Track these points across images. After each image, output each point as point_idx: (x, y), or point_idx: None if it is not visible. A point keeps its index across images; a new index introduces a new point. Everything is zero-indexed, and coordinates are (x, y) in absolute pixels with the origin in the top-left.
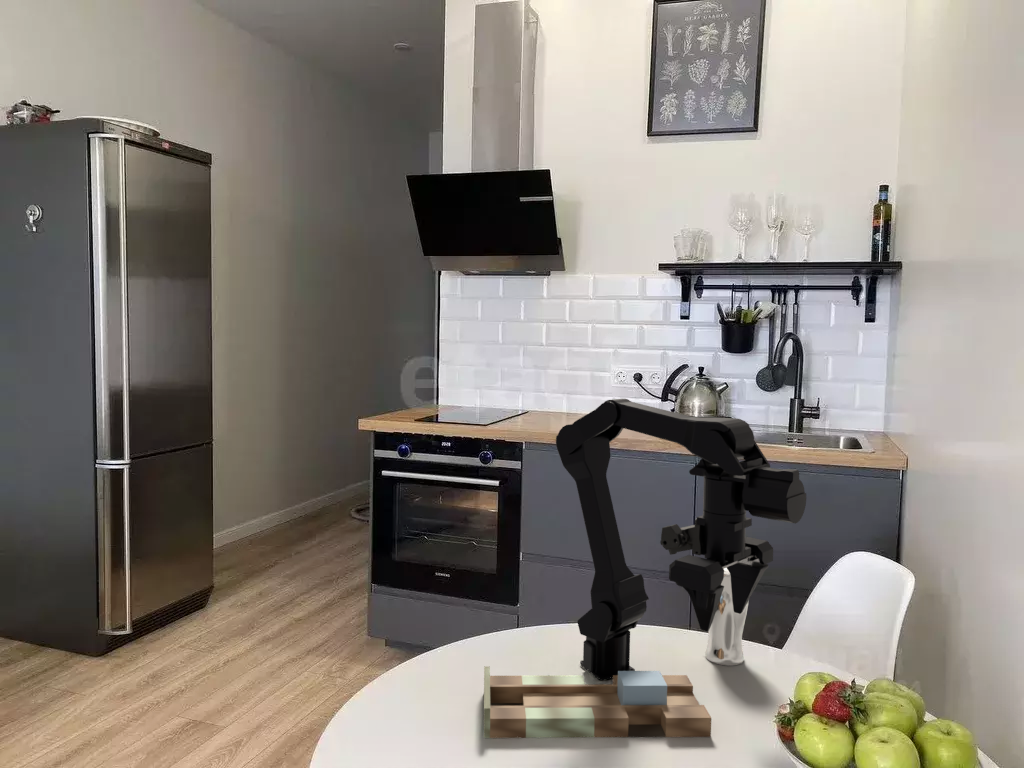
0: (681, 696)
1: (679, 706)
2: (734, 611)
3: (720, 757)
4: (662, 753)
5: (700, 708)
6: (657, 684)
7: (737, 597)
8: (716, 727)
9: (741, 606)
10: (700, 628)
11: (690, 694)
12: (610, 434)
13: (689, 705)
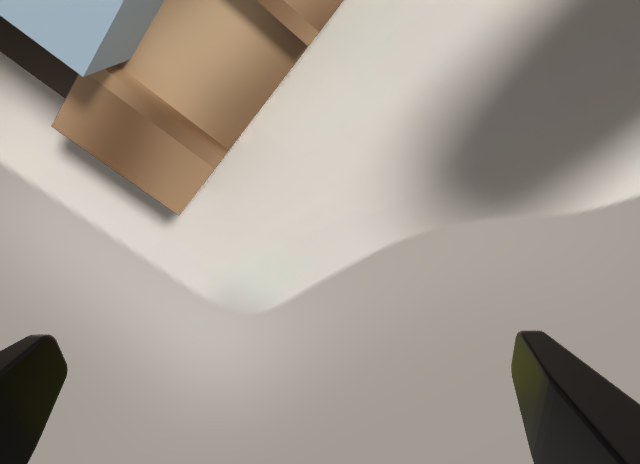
0: (251, 31)
1: (142, 109)
2: (516, 337)
3: (146, 251)
4: (26, 152)
5: (193, 164)
6: (49, 42)
7: (566, 458)
8: (251, 174)
9: (526, 425)
10: (28, 336)
11: (293, 44)
12: None
13: (177, 128)
